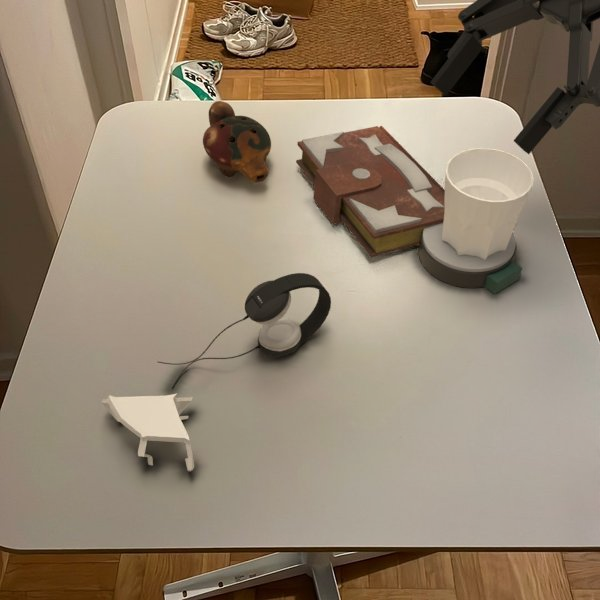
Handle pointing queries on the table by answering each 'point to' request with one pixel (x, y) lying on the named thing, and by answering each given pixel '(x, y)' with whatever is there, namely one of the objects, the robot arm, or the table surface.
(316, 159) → the book
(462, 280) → the scale
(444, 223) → the cup
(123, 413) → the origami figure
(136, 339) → the table surface
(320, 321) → the headphones
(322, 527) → the table surface
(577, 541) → the table surface
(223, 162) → the ocarina
